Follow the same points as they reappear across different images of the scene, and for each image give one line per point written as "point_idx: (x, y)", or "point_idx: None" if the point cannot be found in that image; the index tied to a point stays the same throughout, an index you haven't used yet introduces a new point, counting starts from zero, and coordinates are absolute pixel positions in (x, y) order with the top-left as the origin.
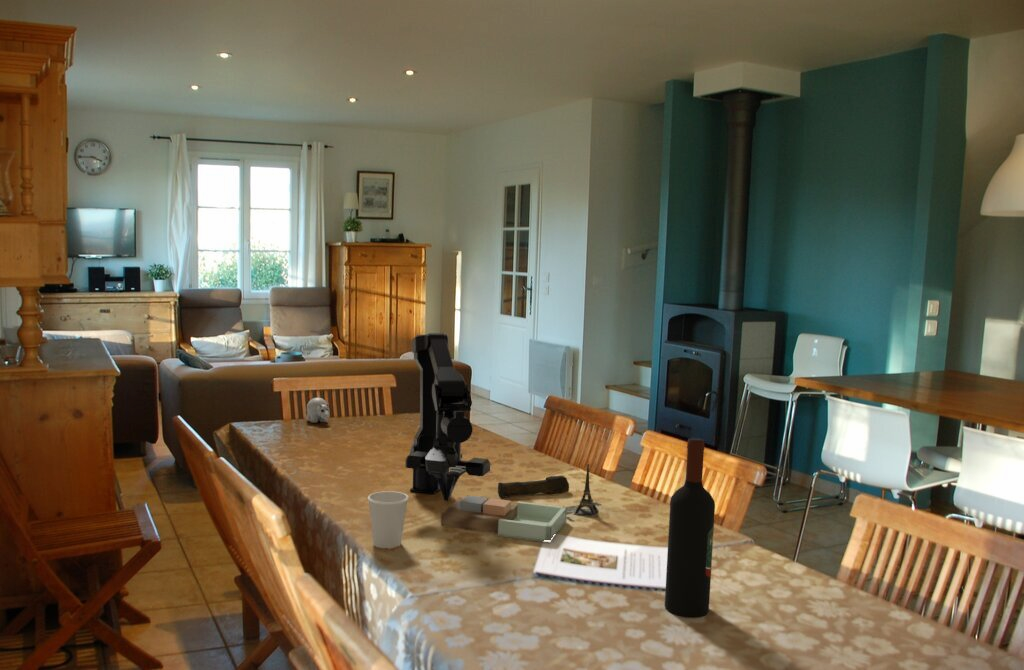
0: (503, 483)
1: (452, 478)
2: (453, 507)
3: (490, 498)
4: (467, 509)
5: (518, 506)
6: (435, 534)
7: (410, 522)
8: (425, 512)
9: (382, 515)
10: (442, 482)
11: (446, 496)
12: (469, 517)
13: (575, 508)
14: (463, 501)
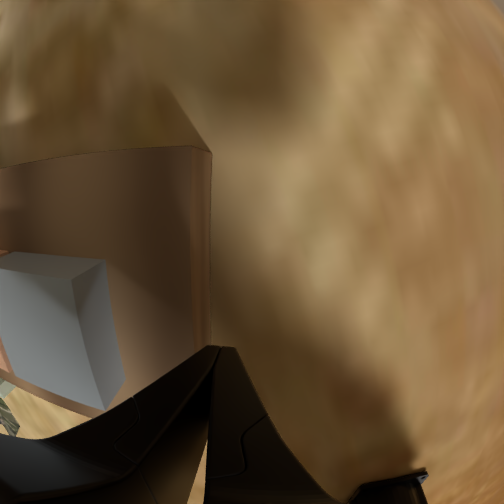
0: None
1: (17, 444)
2: (160, 298)
3: (6, 368)
4: (58, 257)
5: (1, 378)
6: (198, 28)
7: (394, 160)
8: (363, 341)
9: None
10: (221, 453)
11: (207, 359)
12: (34, 163)
13: (4, 422)
14: (51, 280)
